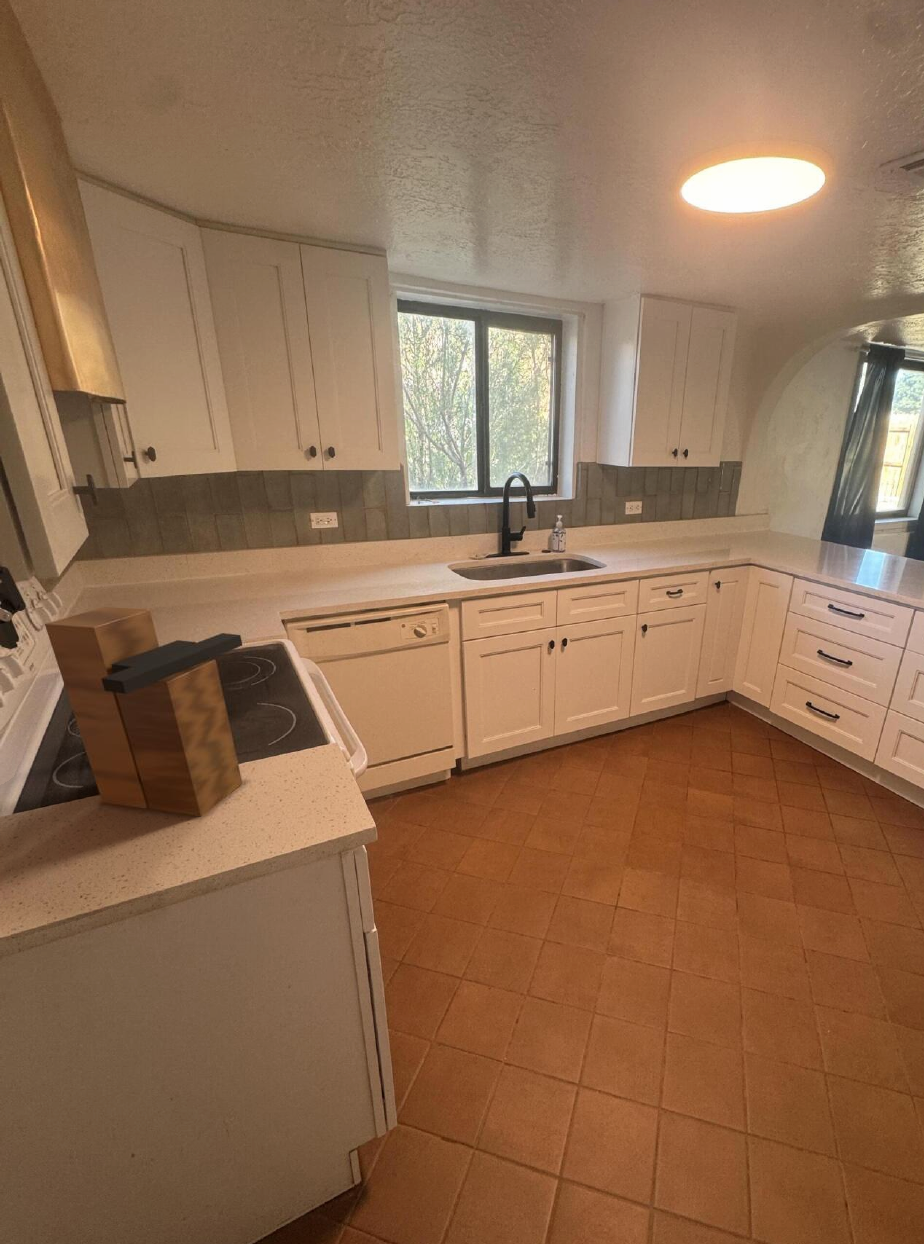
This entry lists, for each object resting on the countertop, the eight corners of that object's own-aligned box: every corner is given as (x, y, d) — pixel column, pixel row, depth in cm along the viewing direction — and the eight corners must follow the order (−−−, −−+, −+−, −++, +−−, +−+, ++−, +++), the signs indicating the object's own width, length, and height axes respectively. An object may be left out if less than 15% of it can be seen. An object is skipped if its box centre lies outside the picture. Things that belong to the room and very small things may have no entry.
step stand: (201, 816, 94) (153, 631, 83) (102, 802, 97) (44, 624, 86) (242, 783, 103) (205, 613, 92) (151, 771, 107) (104, 606, 95)
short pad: (134, 679, 87) (131, 666, 86) (114, 676, 88) (111, 664, 87) (198, 652, 97) (196, 641, 97) (180, 650, 98) (177, 639, 98)
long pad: (125, 694, 81) (121, 681, 81) (104, 691, 82) (100, 678, 82) (242, 645, 101) (240, 634, 100) (224, 643, 102) (222, 632, 101)
